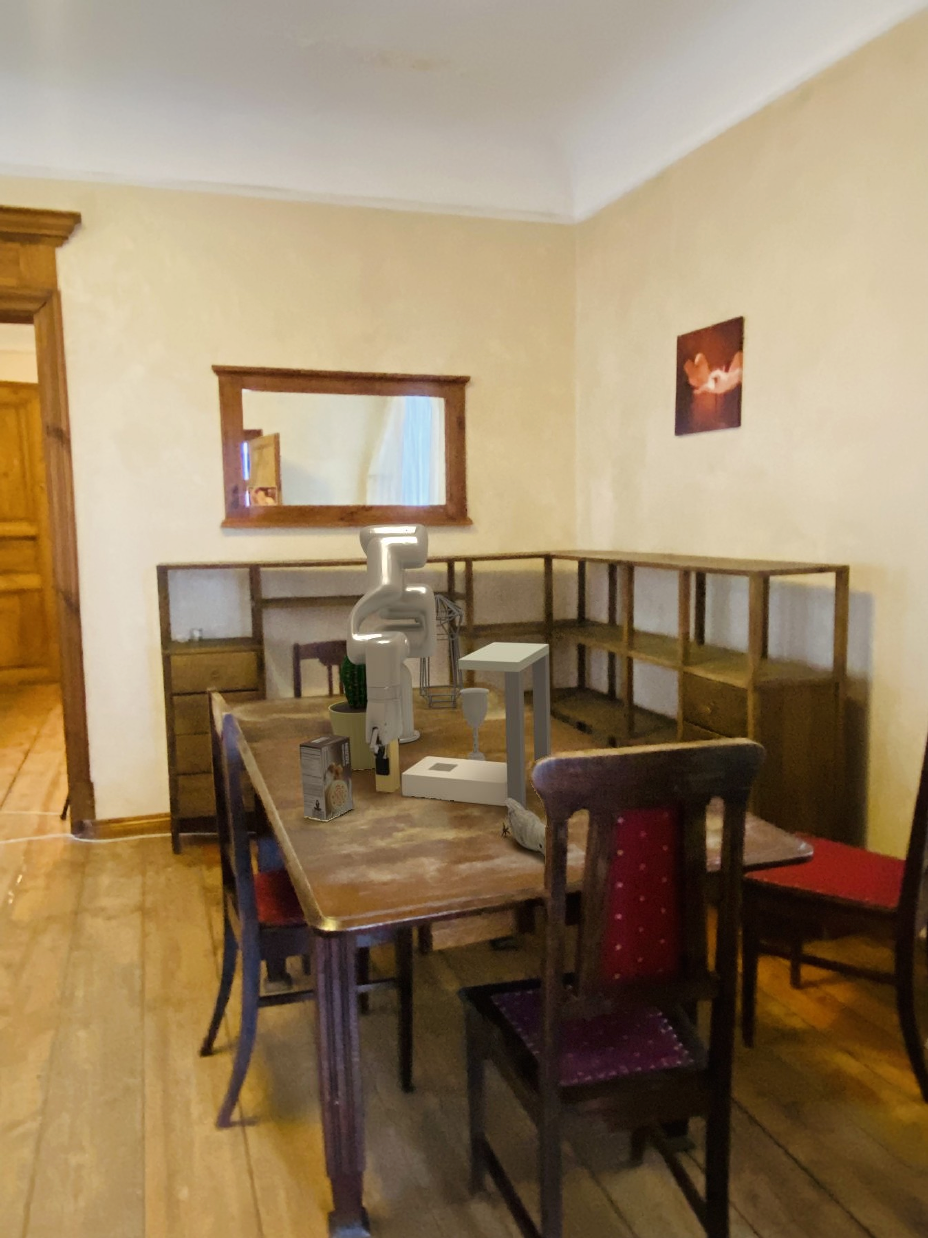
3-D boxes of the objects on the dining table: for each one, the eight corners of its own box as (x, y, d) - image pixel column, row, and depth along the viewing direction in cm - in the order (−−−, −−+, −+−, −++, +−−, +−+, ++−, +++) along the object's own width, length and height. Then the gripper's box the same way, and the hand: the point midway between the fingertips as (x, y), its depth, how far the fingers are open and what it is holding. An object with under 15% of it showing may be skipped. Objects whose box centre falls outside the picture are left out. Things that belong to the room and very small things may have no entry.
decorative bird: (539, 866, 163) (538, 826, 162) (497, 837, 177) (496, 800, 176) (565, 860, 165) (564, 820, 164) (521, 832, 180) (520, 795, 179)
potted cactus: (319, 770, 223) (313, 649, 219) (348, 753, 237) (343, 639, 233) (376, 775, 218) (371, 651, 213) (403, 757, 232) (398, 640, 228)
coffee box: (331, 805, 198) (327, 732, 196) (354, 809, 195) (351, 736, 192) (302, 818, 190) (298, 743, 188) (326, 823, 187) (322, 747, 185)
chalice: (494, 759, 228) (492, 688, 225) (486, 767, 221) (484, 694, 219) (466, 757, 230) (464, 687, 228) (458, 765, 224) (455, 693, 221)
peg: (376, 791, 206) (373, 739, 204) (384, 785, 210) (381, 735, 208) (392, 793, 205) (390, 740, 203) (400, 787, 208) (397, 736, 207)
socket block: (402, 795, 203) (401, 773, 202) (427, 776, 215) (427, 756, 215) (505, 806, 194) (504, 783, 193) (525, 785, 207) (524, 764, 206)
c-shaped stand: (463, 808, 193) (458, 659, 189) (497, 777, 213) (494, 642, 209) (521, 814, 188) (518, 662, 184) (551, 782, 209) (548, 644, 204)
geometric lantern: (466, 710, 279) (463, 596, 274) (415, 711, 280) (410, 598, 275) (467, 698, 295) (463, 591, 290) (418, 700, 295) (414, 592, 290)
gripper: (385, 684, 213) (388, 760, 216) (351, 699, 198) (355, 781, 200) (414, 685, 210) (417, 762, 213) (382, 701, 195) (386, 784, 198)
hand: (387, 770), depth 207 cm, fingers closed on peg, 4 cm apart
